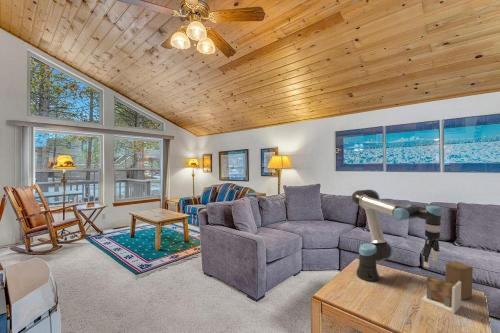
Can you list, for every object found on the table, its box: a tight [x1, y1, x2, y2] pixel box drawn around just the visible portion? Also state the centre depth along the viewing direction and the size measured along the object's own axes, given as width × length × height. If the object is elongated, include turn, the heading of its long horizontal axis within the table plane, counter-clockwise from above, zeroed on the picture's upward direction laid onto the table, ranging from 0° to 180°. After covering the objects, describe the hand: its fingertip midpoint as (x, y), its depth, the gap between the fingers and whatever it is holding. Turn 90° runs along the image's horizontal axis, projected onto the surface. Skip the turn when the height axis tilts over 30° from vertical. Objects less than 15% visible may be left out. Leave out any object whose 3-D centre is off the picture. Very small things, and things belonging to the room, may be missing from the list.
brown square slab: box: [426, 275, 454, 307], centre depth 147 cm, size 12×4×12 cm, turn 35°
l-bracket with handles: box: [420, 281, 462, 315], centre depth 147 cm, size 16×12×15 cm
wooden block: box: [444, 260, 474, 301], centre depth 155 cm, size 10×10×20 cm
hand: (430, 263), depth 152 cm, fingers open, 13 cm apart
